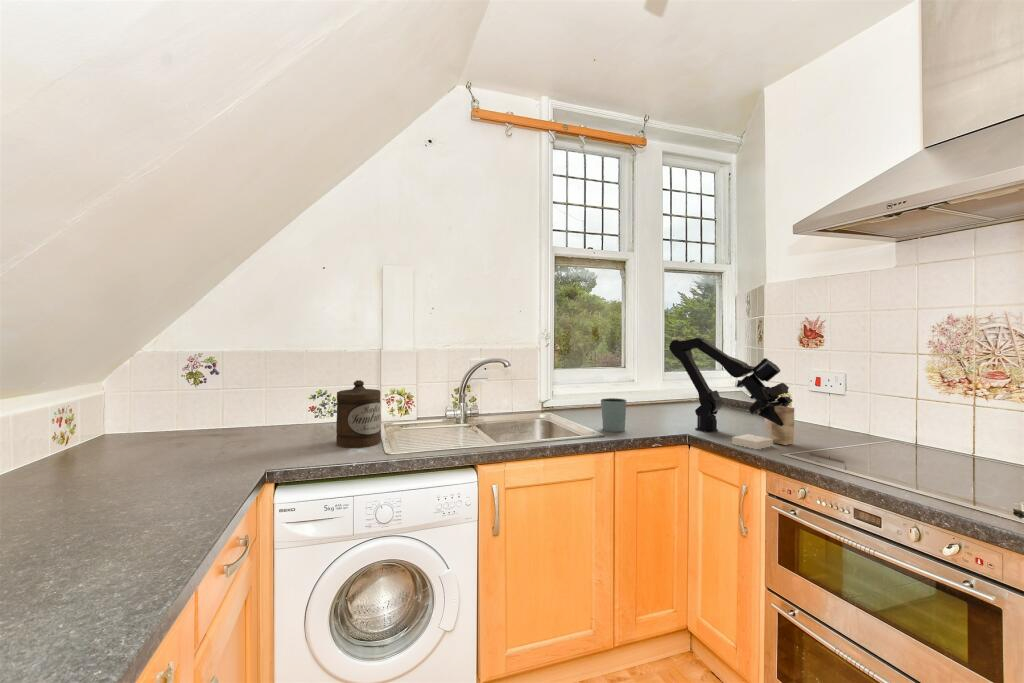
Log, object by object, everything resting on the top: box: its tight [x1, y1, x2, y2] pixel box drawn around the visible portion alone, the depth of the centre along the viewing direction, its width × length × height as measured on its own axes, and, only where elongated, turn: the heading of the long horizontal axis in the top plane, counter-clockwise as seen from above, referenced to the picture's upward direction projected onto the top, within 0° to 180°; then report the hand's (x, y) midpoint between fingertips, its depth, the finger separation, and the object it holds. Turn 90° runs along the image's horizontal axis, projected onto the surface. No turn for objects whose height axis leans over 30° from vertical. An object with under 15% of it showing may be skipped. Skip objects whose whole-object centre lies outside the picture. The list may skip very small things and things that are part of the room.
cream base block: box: [731, 433, 774, 450], centre depth 165 cm, size 9×9×3 cm
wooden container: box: [335, 379, 382, 449], centre depth 167 cm, size 15×15×22 cm
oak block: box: [770, 406, 795, 446], centre depth 168 cm, size 5×5×12 cm
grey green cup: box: [600, 397, 627, 433], centre depth 191 cm, size 10×10×12 cm
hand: (786, 424), depth 166 cm, fingers closed on oak block, 5 cm apart
